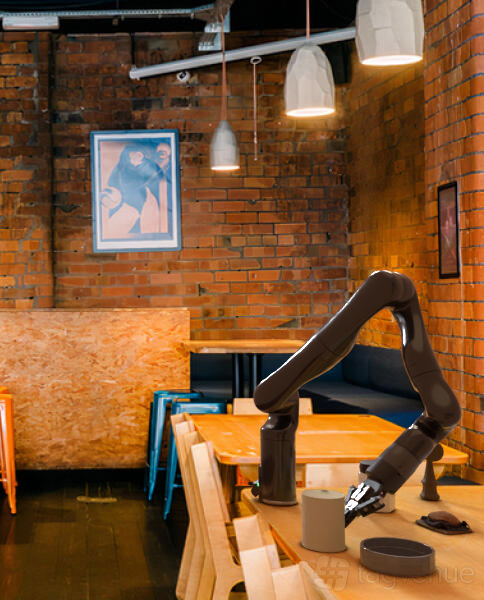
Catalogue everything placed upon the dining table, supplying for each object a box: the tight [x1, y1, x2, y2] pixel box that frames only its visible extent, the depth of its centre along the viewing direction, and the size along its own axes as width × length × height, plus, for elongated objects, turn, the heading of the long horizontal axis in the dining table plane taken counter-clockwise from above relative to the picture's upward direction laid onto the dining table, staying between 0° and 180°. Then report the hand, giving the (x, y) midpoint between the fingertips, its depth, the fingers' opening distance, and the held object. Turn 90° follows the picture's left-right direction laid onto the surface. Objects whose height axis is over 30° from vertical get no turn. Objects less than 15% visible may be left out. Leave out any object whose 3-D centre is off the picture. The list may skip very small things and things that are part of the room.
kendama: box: [419, 443, 445, 501], centre depth 217 cm, size 6×10×20 cm, turn 165°
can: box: [300, 488, 347, 553], centre depth 175 cm, size 9×9×12 cm
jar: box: [357, 459, 396, 513], centre depth 207 cm, size 9×8×12 cm
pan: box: [359, 536, 437, 578], centre depth 161 cm, size 14×14×4 cm
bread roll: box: [414, 510, 473, 535], centre depth 189 cm, size 11×8×4 cm
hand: (340, 524), depth 176 cm, fingers closed
